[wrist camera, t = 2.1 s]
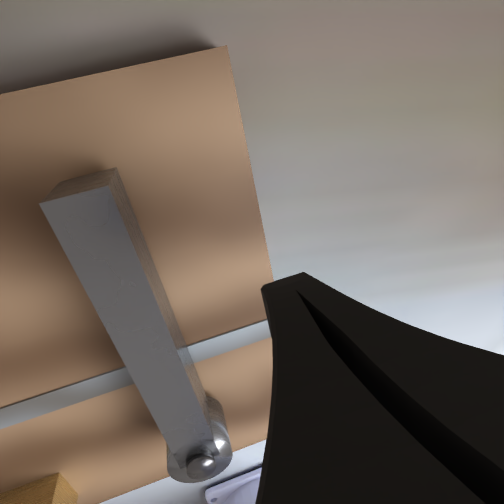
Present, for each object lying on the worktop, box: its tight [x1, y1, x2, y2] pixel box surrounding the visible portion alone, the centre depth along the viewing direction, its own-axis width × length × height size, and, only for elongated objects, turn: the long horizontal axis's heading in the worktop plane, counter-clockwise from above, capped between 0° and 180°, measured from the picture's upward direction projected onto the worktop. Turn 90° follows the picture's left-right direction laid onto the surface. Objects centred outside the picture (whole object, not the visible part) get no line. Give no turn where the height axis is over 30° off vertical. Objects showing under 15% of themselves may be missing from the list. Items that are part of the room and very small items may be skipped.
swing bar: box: [39, 167, 232, 483], centre depth 15 cm, size 16×3×3 cm, turn 11°
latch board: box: [0, 45, 274, 504], centre depth 16 cm, size 22×24×2 cm
